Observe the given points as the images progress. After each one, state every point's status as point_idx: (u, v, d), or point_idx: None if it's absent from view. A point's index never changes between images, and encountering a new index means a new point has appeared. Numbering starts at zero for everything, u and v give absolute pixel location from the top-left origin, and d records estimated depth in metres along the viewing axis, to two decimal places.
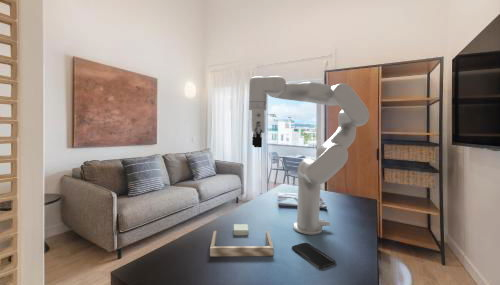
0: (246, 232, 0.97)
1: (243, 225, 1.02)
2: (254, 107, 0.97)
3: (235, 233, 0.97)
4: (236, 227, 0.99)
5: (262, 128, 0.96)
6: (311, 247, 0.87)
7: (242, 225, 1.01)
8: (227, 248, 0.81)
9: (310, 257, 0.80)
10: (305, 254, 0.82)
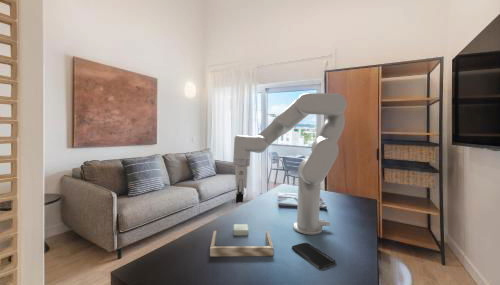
0: (246, 232, 0.97)
1: (243, 225, 1.02)
2: (237, 164, 1.03)
3: (235, 233, 0.97)
4: (236, 227, 1.00)
5: (244, 185, 1.02)
6: (311, 247, 0.87)
7: (242, 225, 1.01)
8: (227, 248, 0.81)
9: (310, 257, 0.80)
10: (305, 254, 0.82)
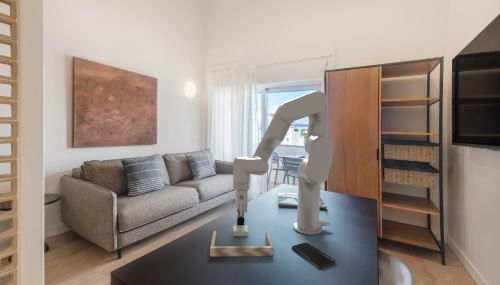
0: (245, 233, 0.96)
1: (243, 226, 1.01)
2: (237, 188, 0.99)
3: (234, 234, 0.96)
4: (236, 228, 0.99)
5: (245, 209, 0.98)
6: (311, 247, 0.87)
7: (242, 226, 1.01)
8: (227, 248, 0.81)
9: (310, 257, 0.80)
10: (305, 254, 0.82)
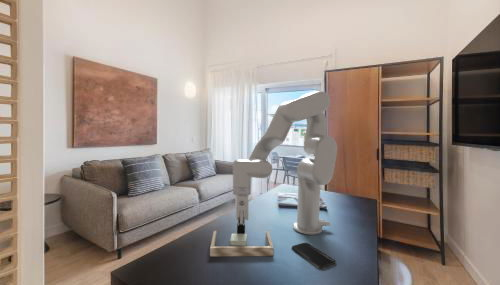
0: (244, 243, 0.88)
1: (242, 234, 0.94)
2: (237, 193, 0.91)
3: (232, 244, 0.89)
4: (233, 237, 0.91)
5: (246, 217, 0.90)
6: (311, 247, 0.87)
7: (240, 235, 0.93)
8: (227, 248, 0.81)
9: (310, 257, 0.80)
10: (305, 254, 0.82)
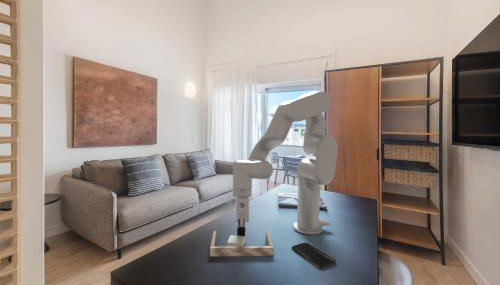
0: None
1: (240, 237, 0.91)
2: (238, 195, 0.89)
3: None
4: (231, 239, 0.89)
5: (246, 219, 0.88)
6: (311, 247, 0.87)
7: (239, 237, 0.90)
8: (227, 248, 0.81)
9: (310, 257, 0.80)
10: (305, 254, 0.82)
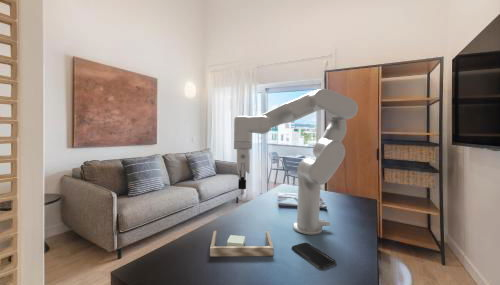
0: None
1: (240, 236, 0.91)
2: (239, 148, 0.94)
3: None
4: (231, 239, 0.89)
5: (247, 169, 0.93)
6: (311, 247, 0.87)
7: (238, 237, 0.90)
8: (227, 248, 0.81)
9: (310, 257, 0.80)
10: (305, 254, 0.82)
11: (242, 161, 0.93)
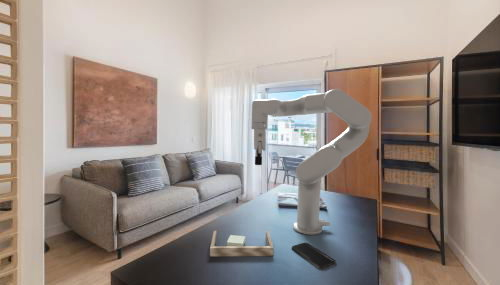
0: None
1: (240, 236, 0.91)
2: (256, 127, 1.07)
3: None
4: (231, 239, 0.89)
5: (263, 147, 1.06)
6: (311, 247, 0.87)
7: (238, 237, 0.90)
8: (227, 248, 0.81)
9: (310, 257, 0.80)
10: (305, 254, 0.82)
11: (259, 139, 1.06)
